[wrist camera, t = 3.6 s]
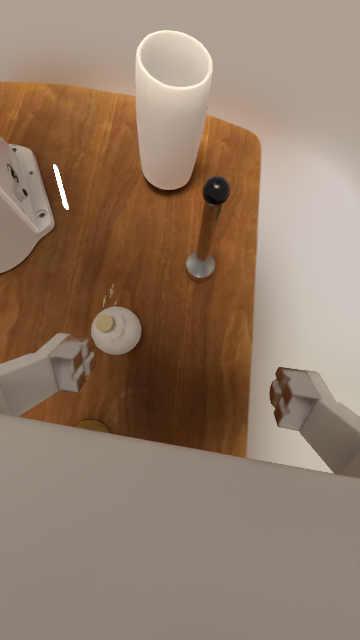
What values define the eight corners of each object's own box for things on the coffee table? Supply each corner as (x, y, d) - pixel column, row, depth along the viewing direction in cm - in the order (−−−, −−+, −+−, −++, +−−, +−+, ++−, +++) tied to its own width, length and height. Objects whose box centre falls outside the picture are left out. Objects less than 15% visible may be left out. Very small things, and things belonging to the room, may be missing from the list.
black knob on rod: (183, 259, 34) (188, 162, 18) (210, 255, 34) (238, 156, 18) (188, 284, 33) (197, 206, 17) (215, 280, 33) (249, 199, 17)
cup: (203, 177, 37) (233, 67, 23) (167, 207, 35) (176, 107, 22) (165, 142, 38) (174, 14, 24) (128, 171, 36) (113, 50, 22)
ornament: (96, 352, 31) (58, 344, 21) (108, 300, 33) (78, 271, 23) (139, 359, 31) (121, 355, 21) (150, 307, 32) (137, 280, 23)
